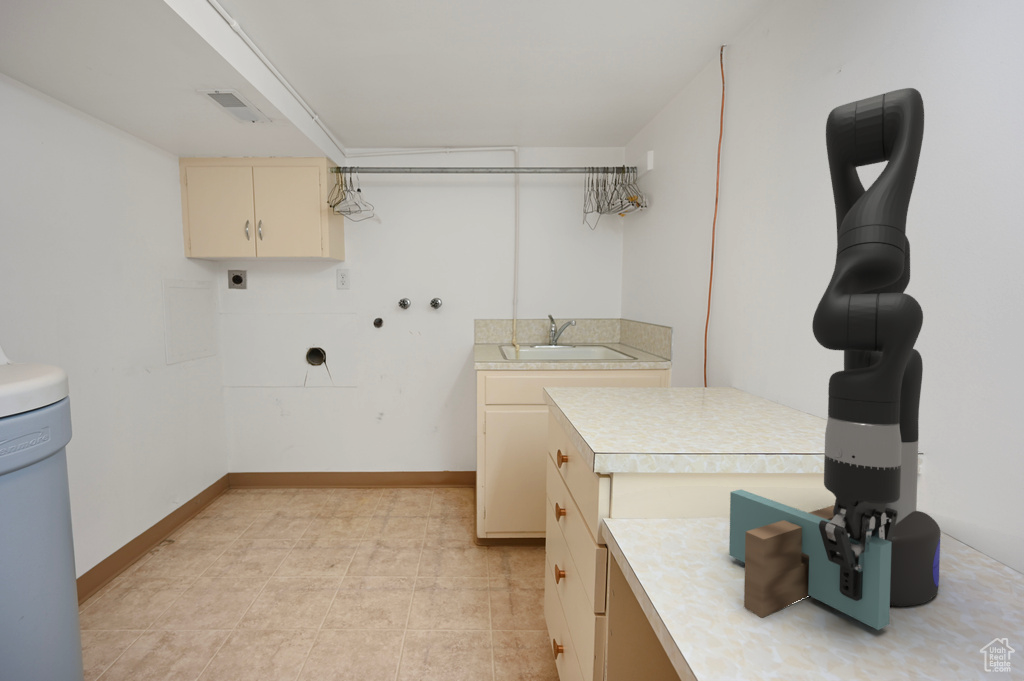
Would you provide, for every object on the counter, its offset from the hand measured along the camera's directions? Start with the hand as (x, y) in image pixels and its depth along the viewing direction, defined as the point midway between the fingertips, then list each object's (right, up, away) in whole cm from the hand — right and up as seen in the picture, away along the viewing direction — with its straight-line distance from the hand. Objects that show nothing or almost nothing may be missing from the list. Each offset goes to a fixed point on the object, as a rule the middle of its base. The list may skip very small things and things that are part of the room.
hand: (857, 593), depth 57 cm
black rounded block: (+12, -4, +8) cm, 15 cm away
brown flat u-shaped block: (-3, -3, +6) cm, 8 cm away
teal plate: (-3, -2, +6) cm, 8 cm away
